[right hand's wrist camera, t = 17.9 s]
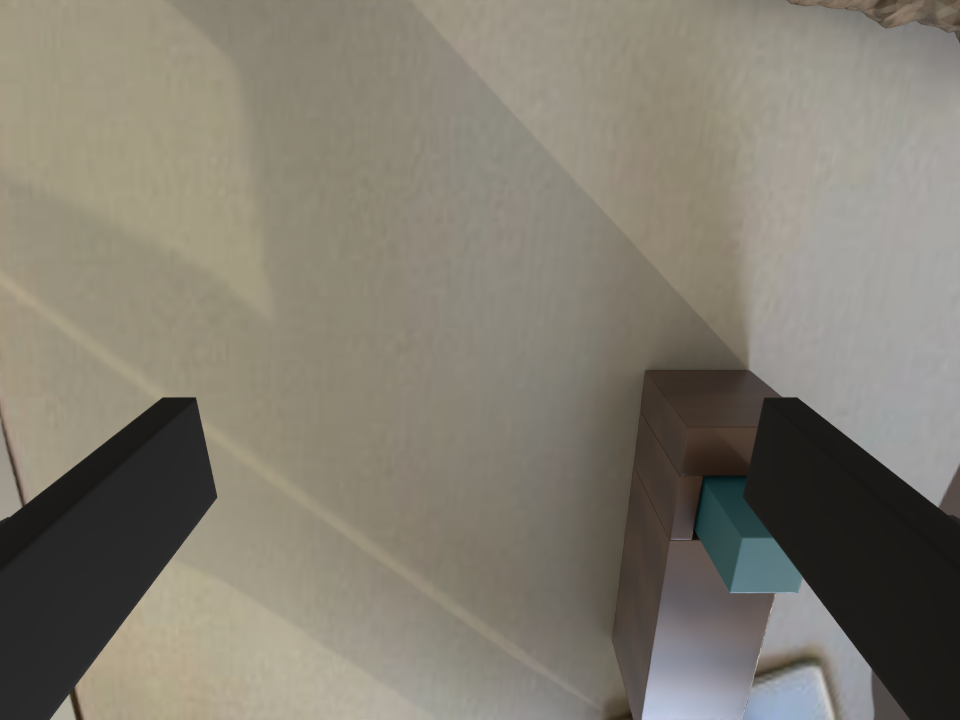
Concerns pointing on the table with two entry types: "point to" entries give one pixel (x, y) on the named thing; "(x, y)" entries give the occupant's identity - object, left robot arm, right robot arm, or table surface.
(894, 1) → the stone
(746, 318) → the table surface
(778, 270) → the table surface
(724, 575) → the peg
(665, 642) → the hole block
